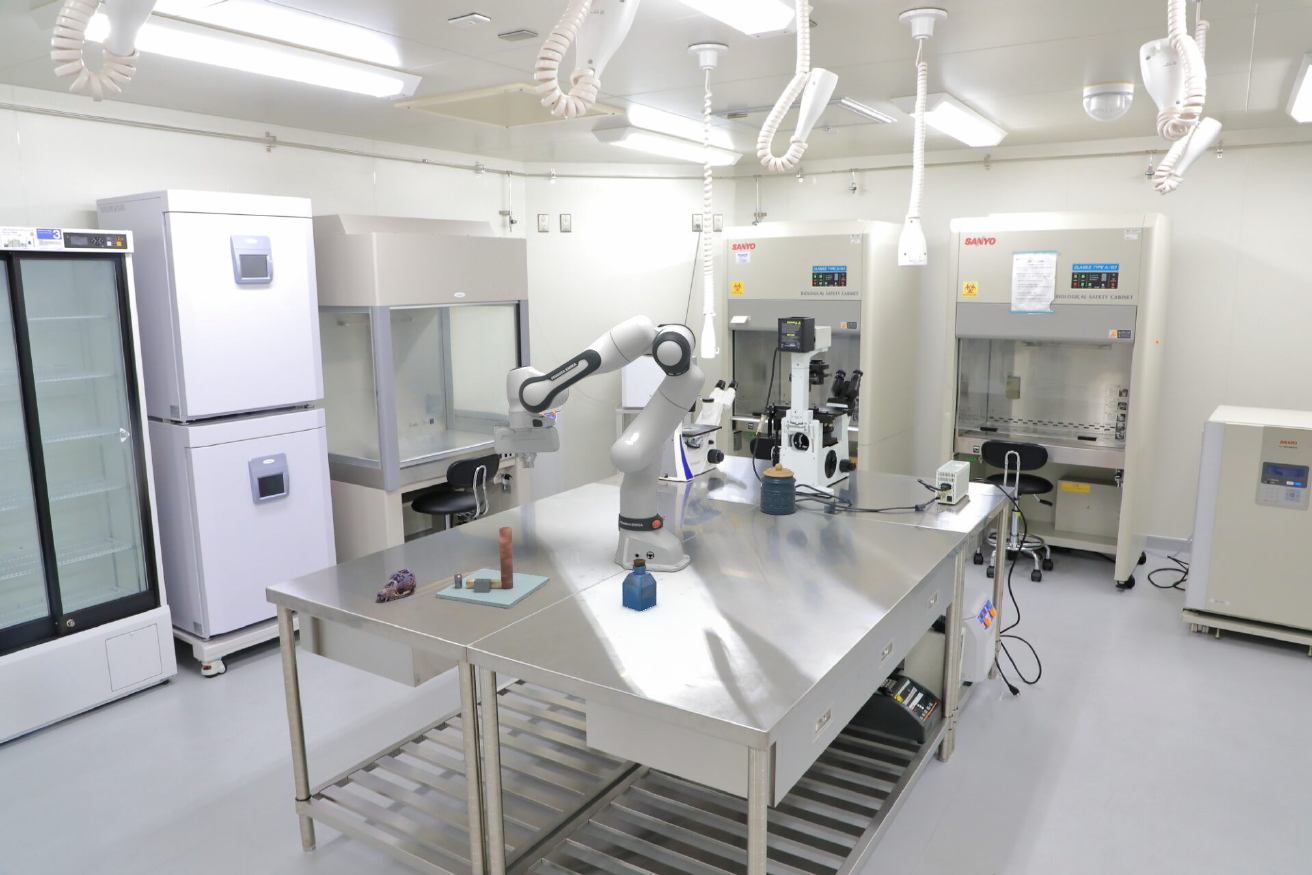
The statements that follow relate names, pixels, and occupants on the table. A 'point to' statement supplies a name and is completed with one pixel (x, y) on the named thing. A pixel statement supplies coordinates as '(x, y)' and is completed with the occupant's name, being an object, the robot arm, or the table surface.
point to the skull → (398, 585)
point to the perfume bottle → (639, 588)
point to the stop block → (482, 585)
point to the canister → (778, 491)
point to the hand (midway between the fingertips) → (528, 467)
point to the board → (495, 589)
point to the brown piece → (502, 562)
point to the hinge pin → (458, 581)
